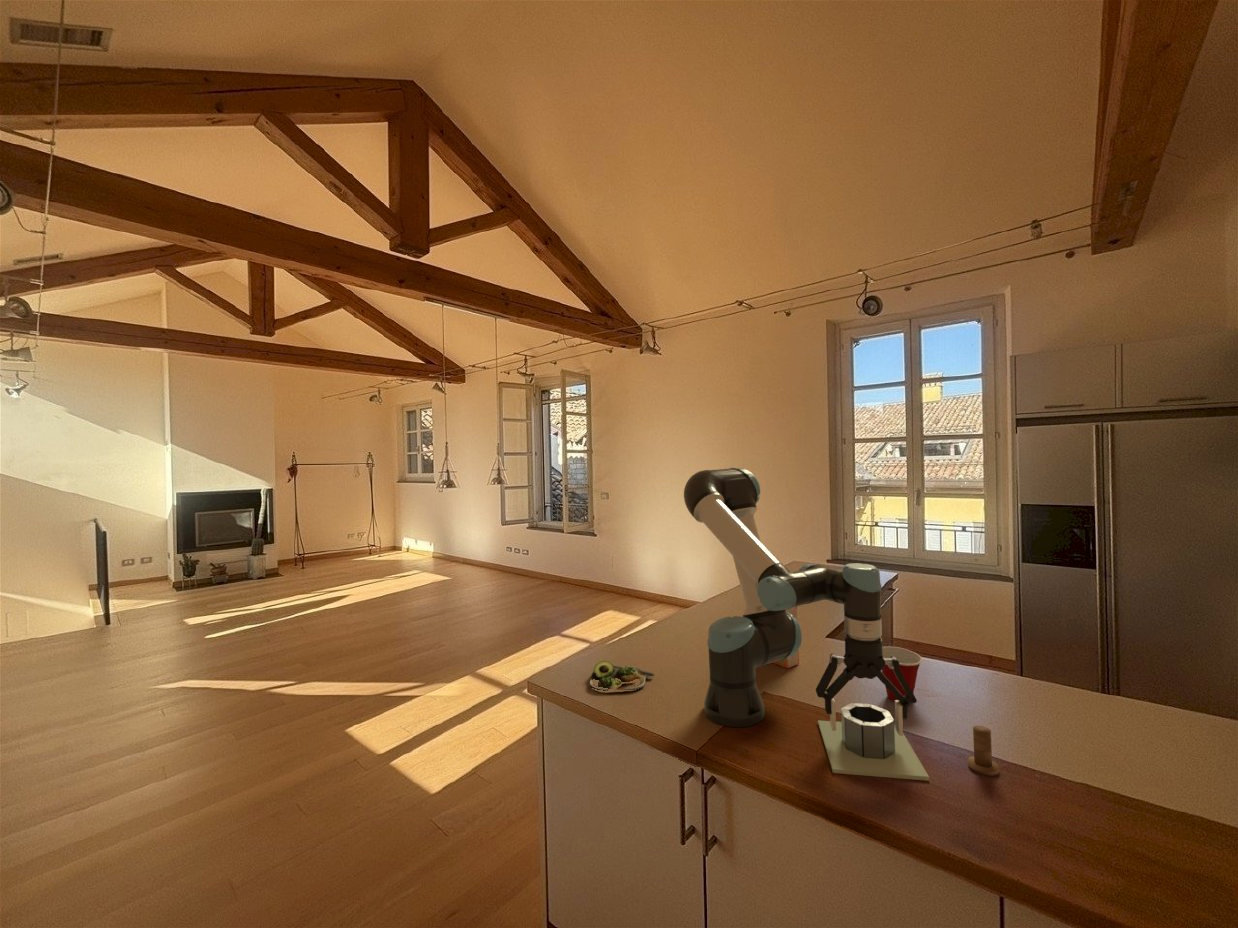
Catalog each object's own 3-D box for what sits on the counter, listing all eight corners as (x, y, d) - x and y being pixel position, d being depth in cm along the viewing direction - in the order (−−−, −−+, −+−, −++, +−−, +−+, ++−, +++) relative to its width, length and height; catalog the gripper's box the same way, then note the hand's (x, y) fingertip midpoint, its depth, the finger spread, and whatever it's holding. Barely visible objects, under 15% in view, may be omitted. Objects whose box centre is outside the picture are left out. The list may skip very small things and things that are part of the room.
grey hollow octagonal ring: (848, 756, 111) (847, 724, 111) (839, 732, 121) (838, 702, 121) (899, 760, 109) (898, 727, 109) (886, 735, 119) (885, 704, 119)
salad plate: (654, 668, 165) (654, 654, 165) (654, 694, 147) (654, 678, 147) (594, 670, 166) (593, 655, 166) (587, 695, 149) (586, 679, 148)
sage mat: (833, 772, 107) (832, 768, 107) (818, 723, 127) (817, 720, 127) (929, 780, 104) (929, 776, 103) (898, 728, 123) (898, 725, 123)
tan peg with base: (974, 774, 105) (973, 734, 105) (963, 759, 110) (962, 721, 110) (1004, 776, 104) (1002, 736, 104) (991, 761, 109) (990, 723, 109)
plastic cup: (911, 712, 130) (909, 665, 130) (869, 697, 139) (867, 652, 139) (932, 699, 136) (930, 653, 136) (890, 685, 145) (889, 643, 145)
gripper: (805, 638, 114) (808, 734, 115) (931, 643, 109) (934, 743, 109) (801, 627, 121) (804, 717, 122) (919, 631, 116) (921, 725, 116)
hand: (865, 729), depth 116 cm, fingers open, 13 cm apart
